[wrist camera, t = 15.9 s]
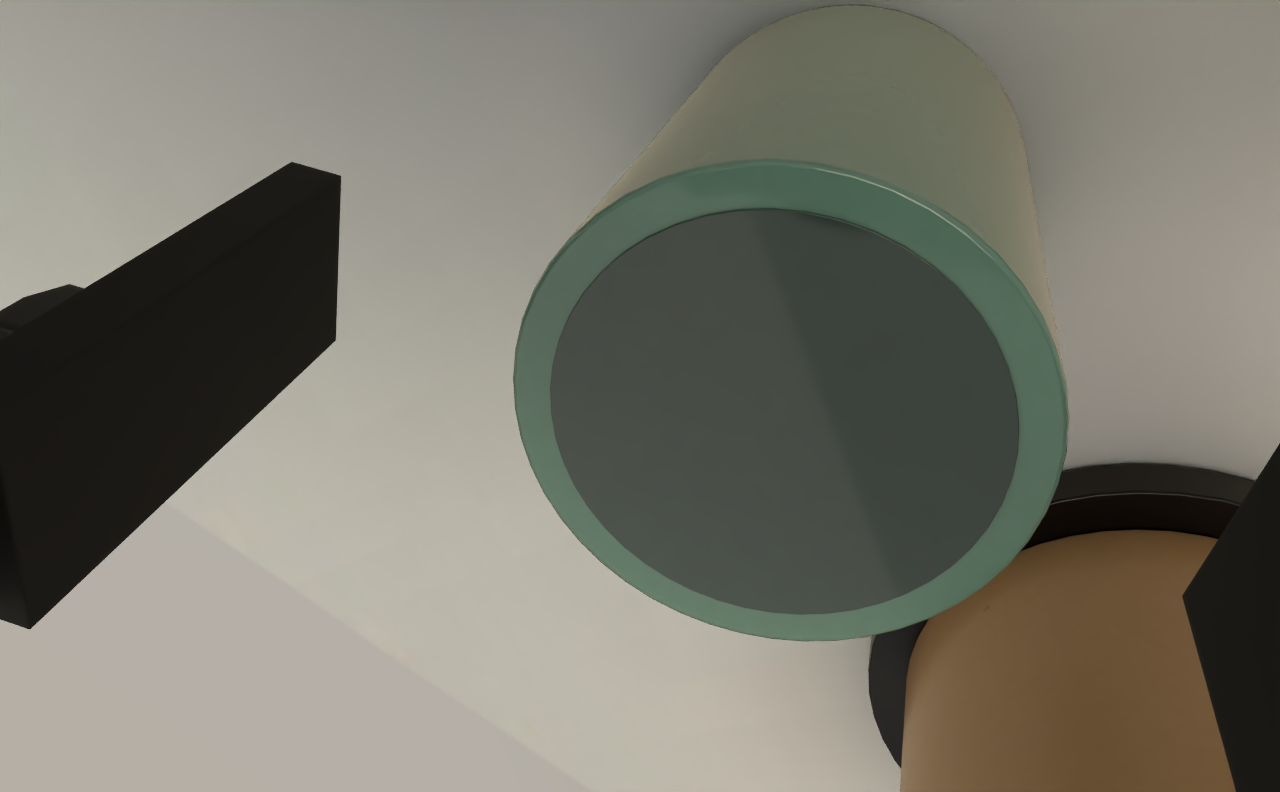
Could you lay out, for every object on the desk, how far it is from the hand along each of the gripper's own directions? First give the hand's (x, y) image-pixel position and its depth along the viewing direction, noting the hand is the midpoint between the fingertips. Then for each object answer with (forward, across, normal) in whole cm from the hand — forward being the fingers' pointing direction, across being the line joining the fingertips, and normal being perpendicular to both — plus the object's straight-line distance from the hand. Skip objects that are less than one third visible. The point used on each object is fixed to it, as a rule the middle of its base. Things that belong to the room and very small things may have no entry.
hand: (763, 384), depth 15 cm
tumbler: (+10, 0, 0) cm, 10 cm away
